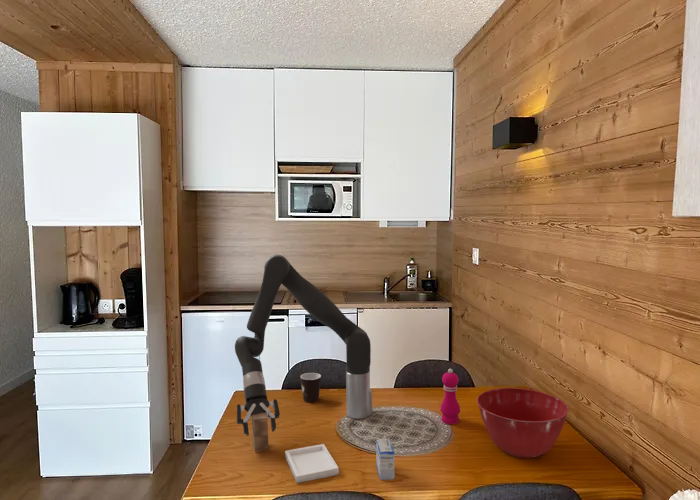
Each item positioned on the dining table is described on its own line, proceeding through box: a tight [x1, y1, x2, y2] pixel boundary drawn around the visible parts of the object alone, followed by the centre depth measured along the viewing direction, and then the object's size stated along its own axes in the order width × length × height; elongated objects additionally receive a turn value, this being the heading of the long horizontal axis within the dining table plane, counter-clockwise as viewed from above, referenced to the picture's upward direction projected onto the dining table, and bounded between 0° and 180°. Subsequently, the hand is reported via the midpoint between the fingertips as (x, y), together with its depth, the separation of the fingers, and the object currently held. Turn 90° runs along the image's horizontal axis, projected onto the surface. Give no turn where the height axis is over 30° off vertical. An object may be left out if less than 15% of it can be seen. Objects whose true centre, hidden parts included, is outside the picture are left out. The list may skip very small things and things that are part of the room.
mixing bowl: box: [476, 387, 570, 459], centre depth 158 cm, size 28×28×15 cm
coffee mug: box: [300, 372, 322, 403], centre depth 203 cm, size 12×9×10 cm
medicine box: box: [375, 438, 396, 481], centre depth 145 cm, size 8×4×9 cm, turn 5°
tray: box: [284, 443, 340, 484], centre depth 150 cm, size 13×16×2 cm
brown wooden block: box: [251, 412, 269, 453], centre depth 161 cm, size 4×4×11 cm
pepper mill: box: [440, 368, 461, 425], centre depth 179 cm, size 7×7×20 cm
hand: (260, 432), depth 160 cm, fingers open, 8 cm apart
